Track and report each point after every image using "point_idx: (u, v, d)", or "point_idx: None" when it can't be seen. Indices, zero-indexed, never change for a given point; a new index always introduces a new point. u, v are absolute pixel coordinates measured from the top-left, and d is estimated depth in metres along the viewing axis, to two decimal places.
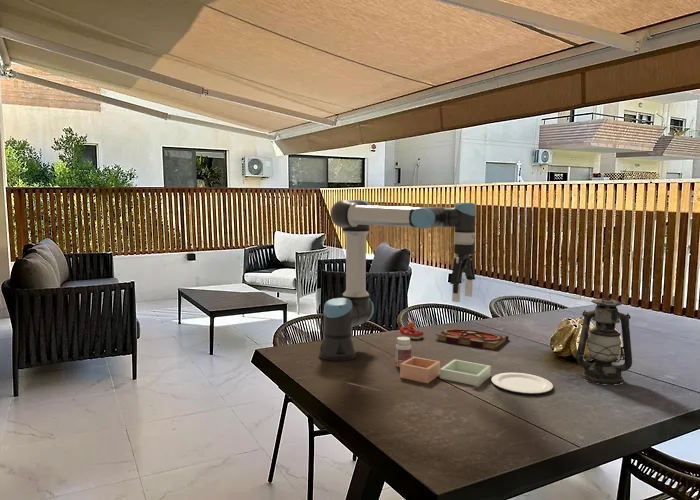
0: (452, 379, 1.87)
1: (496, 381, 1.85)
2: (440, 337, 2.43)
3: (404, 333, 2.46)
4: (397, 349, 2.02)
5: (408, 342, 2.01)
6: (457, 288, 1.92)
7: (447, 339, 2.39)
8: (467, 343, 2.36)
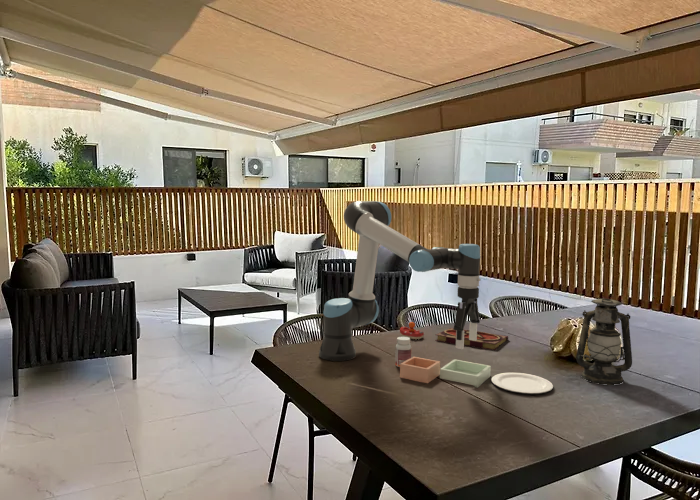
0: (452, 379, 1.87)
1: (496, 381, 1.85)
2: (440, 337, 2.43)
3: (404, 333, 2.46)
4: (397, 349, 2.02)
5: (408, 342, 2.01)
6: (461, 335, 1.83)
7: (447, 339, 2.39)
8: (467, 343, 2.36)
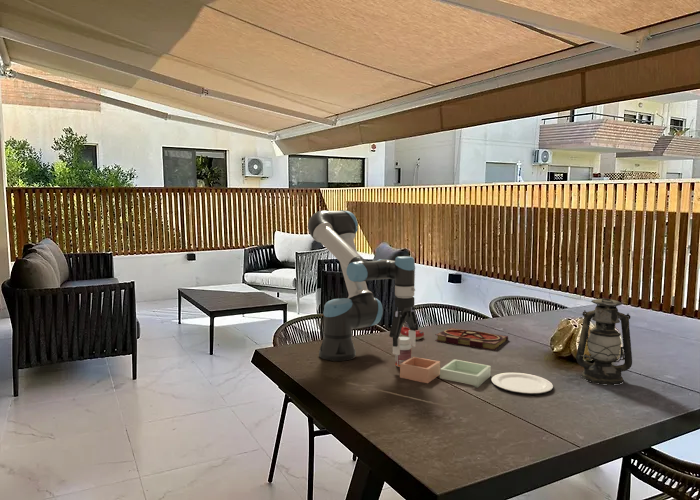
0: (452, 379, 1.87)
1: (496, 381, 1.85)
2: (440, 337, 2.43)
3: (405, 333, 2.46)
4: None
5: (408, 342, 2.01)
6: (396, 341, 1.96)
7: (447, 339, 2.39)
8: (467, 343, 2.36)
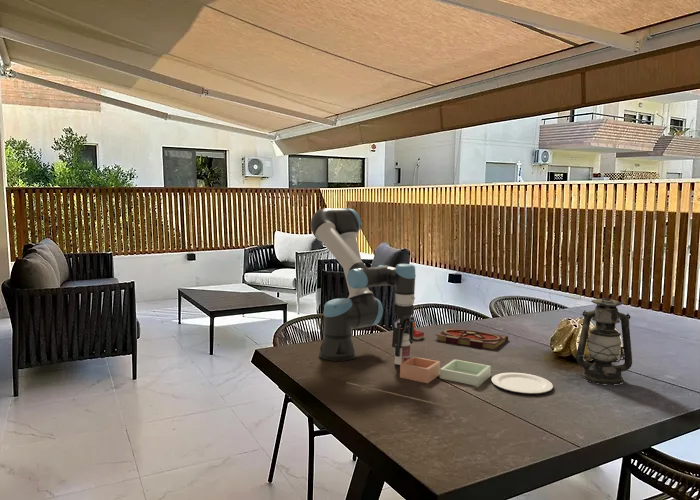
0: (452, 379, 1.87)
1: (496, 381, 1.85)
2: (440, 337, 2.43)
3: None
4: None
5: (407, 338, 2.02)
6: (399, 352, 2.00)
7: (447, 339, 2.39)
8: (467, 343, 2.36)
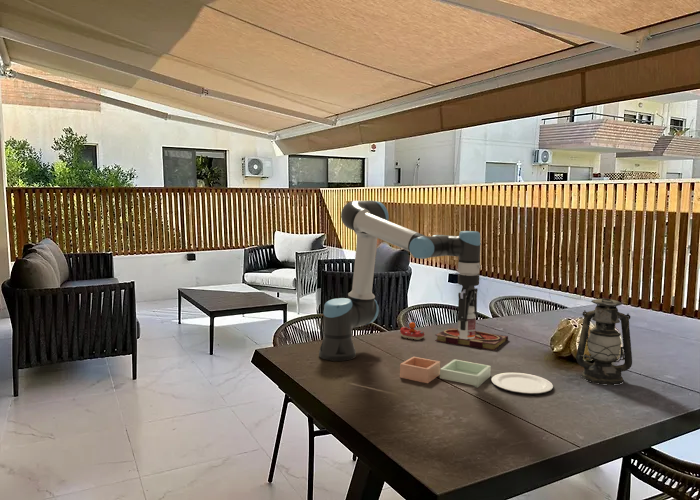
0: (452, 379, 1.87)
1: (496, 381, 1.85)
2: (440, 337, 2.42)
3: (405, 333, 2.45)
4: None
5: (473, 310, 1.88)
6: (464, 325, 1.86)
7: (447, 339, 2.39)
8: (467, 343, 2.35)
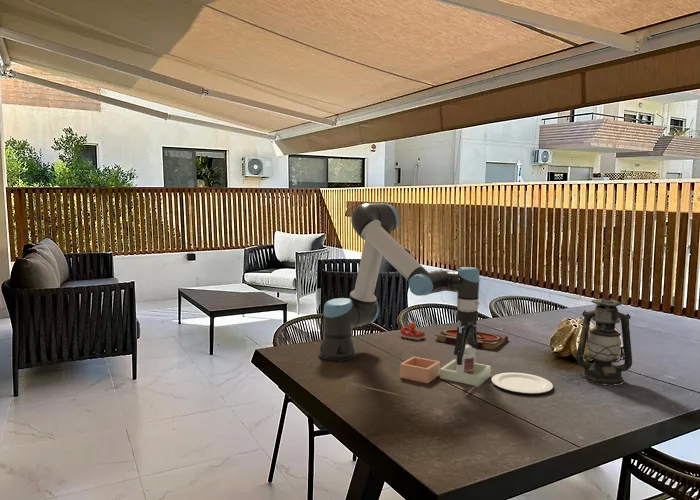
0: (452, 379, 1.87)
1: (496, 381, 1.85)
2: (439, 337, 2.42)
3: (405, 334, 2.45)
4: None
5: (471, 350, 1.89)
6: (461, 359, 1.85)
7: (446, 339, 2.38)
8: (466, 343, 2.35)
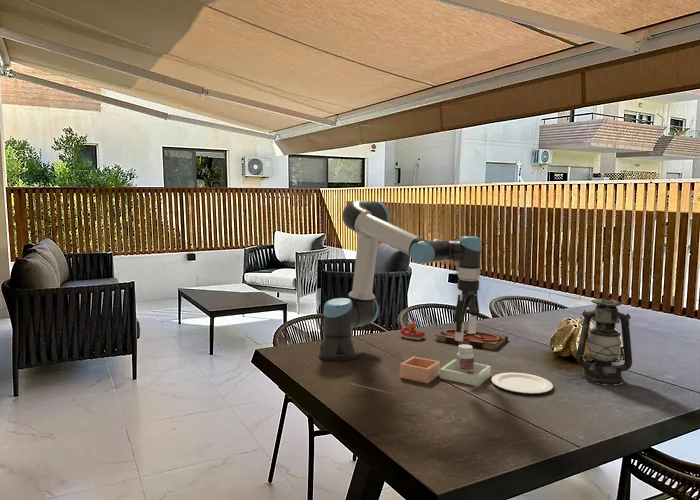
0: (452, 379, 1.87)
1: (496, 381, 1.85)
2: (439, 337, 2.42)
3: (405, 334, 2.45)
4: (459, 358, 1.89)
5: (471, 350, 1.89)
6: (460, 327, 1.83)
7: (446, 339, 2.38)
8: (466, 344, 2.35)
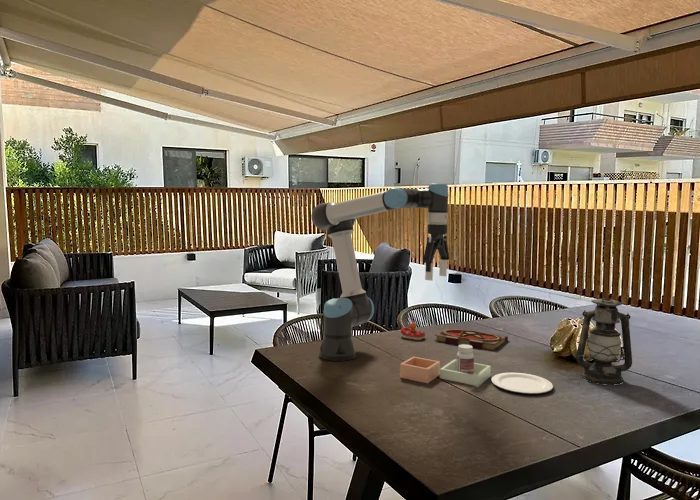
0: (452, 379, 1.87)
1: (496, 381, 1.85)
2: (439, 338, 2.42)
3: (406, 334, 2.45)
4: (459, 358, 1.89)
5: (471, 350, 1.89)
6: (430, 267, 1.96)
7: (446, 340, 2.38)
8: (466, 344, 2.35)
